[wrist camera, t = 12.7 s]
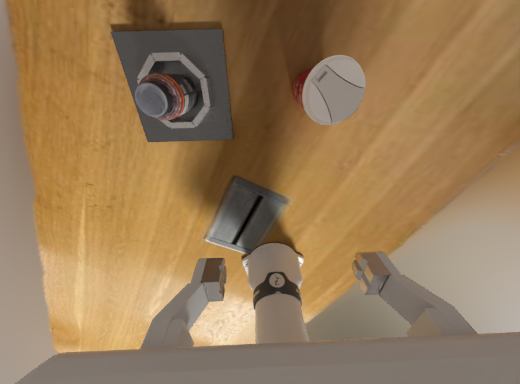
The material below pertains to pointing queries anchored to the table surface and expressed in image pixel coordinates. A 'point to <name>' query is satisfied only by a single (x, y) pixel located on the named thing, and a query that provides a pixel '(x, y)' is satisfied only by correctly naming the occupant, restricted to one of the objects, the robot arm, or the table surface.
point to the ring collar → (188, 65)
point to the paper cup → (331, 89)
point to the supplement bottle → (165, 95)
